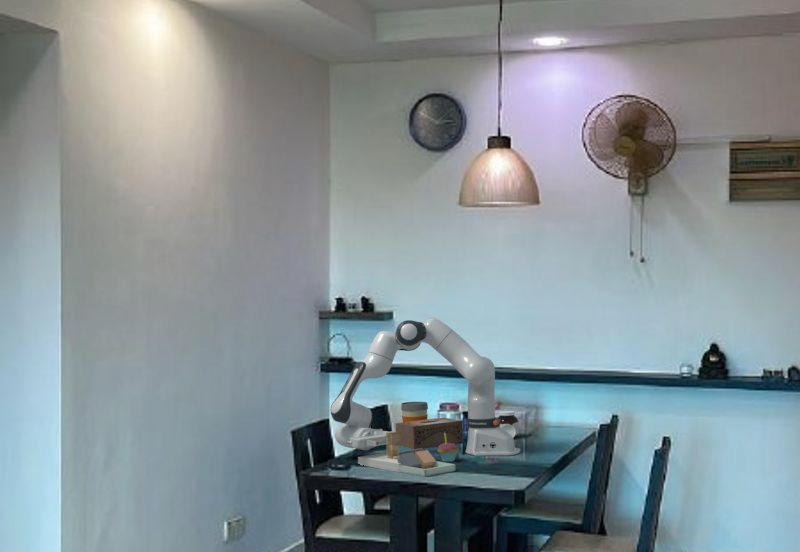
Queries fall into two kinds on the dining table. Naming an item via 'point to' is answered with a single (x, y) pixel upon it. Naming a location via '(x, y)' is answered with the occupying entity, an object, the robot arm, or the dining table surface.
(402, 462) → the charcoal tile
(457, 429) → the tissue box cover
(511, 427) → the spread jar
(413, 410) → the reusable coffee cup
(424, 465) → the terracotta tile
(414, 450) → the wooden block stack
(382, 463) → the slab
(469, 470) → the dining table surface
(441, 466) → the tray
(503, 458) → the dining table surface
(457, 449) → the cupcake
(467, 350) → the robot arm
